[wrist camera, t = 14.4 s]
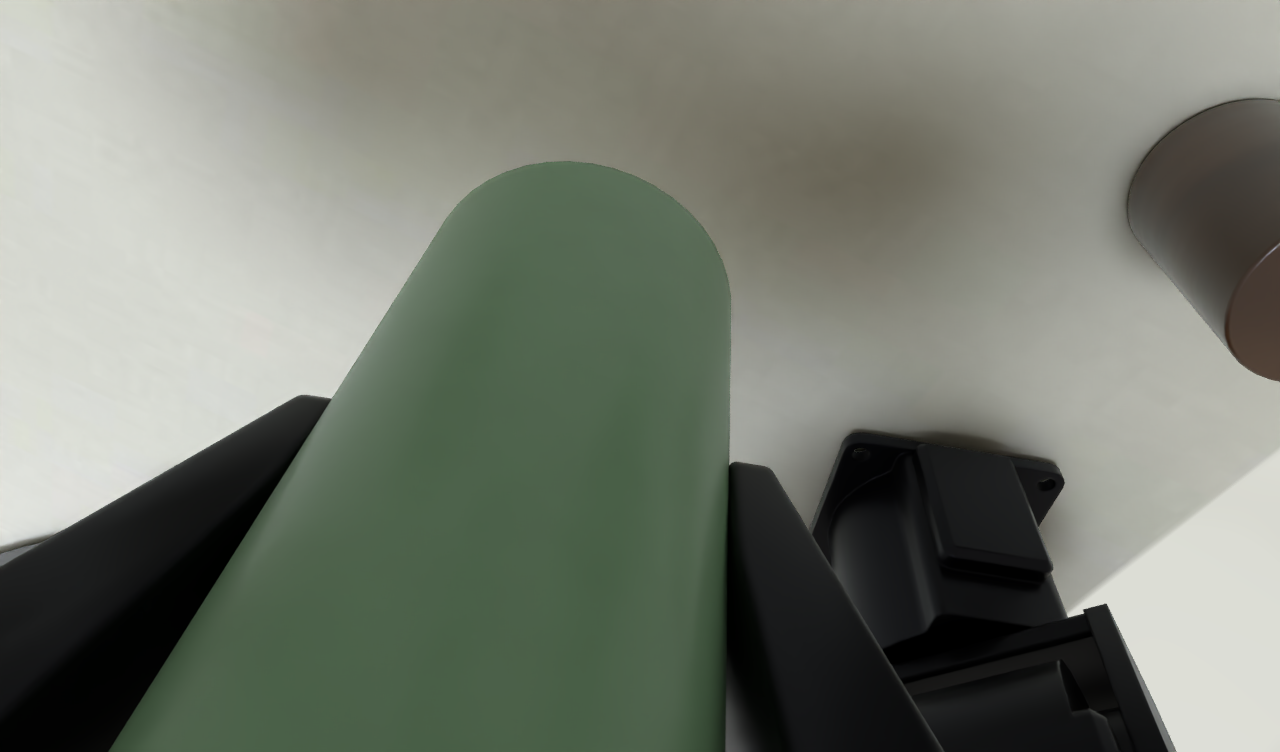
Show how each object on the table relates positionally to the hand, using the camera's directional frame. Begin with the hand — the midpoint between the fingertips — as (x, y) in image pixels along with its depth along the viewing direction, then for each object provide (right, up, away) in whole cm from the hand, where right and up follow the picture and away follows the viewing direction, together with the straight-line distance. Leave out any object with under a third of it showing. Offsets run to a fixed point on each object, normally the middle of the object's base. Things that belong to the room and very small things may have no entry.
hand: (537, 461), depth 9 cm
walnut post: (+14, +5, +11) cm, 19 cm away
